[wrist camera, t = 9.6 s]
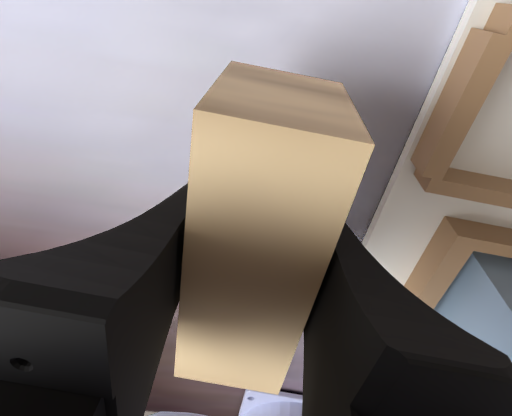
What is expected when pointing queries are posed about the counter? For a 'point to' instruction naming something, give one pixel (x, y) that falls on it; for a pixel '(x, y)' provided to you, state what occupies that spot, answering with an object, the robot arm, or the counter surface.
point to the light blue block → (482, 300)
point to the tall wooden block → (262, 219)
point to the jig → (454, 163)
